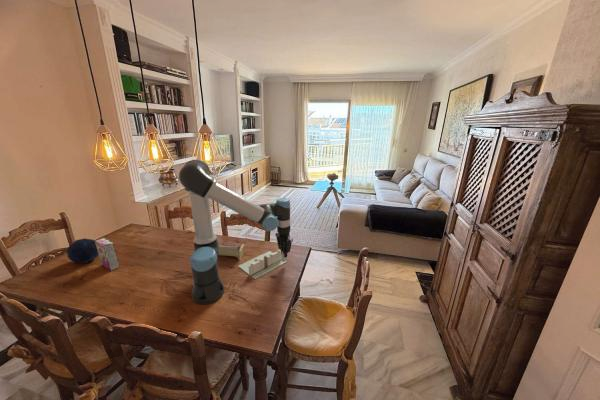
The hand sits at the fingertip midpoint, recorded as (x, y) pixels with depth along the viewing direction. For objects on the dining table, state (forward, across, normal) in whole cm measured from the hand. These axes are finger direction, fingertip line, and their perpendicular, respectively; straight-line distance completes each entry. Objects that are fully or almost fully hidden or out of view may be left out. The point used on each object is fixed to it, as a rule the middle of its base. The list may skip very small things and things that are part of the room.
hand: (284, 260), depth 141 cm
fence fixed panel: (+3, +6, +14) cm, 16 cm away
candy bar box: (+3, +71, +73) cm, 102 cm away
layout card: (+3, +10, +8) cm, 14 cm away
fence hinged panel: (+3, +6, +2) cm, 7 cm away
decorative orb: (+2, +88, +82) cm, 121 cm away
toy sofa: (+4, +34, +19) cm, 39 cm away
